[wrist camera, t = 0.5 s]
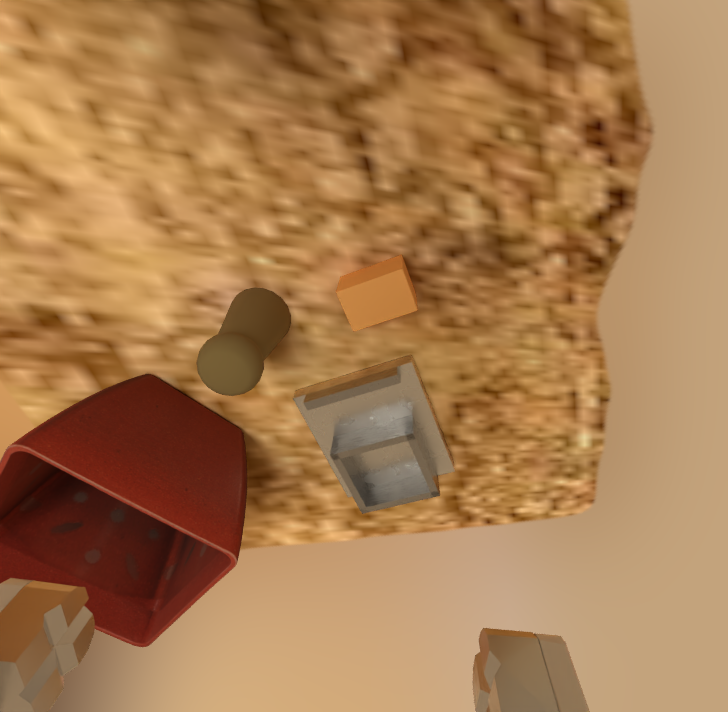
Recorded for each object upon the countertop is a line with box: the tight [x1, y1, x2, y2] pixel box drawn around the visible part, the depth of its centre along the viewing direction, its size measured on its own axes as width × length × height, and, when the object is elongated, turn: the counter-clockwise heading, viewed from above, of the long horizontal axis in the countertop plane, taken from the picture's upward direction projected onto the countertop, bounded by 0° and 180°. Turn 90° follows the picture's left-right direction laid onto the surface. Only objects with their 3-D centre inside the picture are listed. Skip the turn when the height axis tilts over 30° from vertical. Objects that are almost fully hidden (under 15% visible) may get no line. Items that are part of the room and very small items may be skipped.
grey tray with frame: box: [293, 355, 455, 514], centre depth 49 cm, size 15×13×4 cm
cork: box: [197, 288, 291, 396], centre depth 40 cm, size 6×6×11 cm
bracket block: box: [336, 255, 418, 332], centre depth 41 cm, size 4×6×4 cm, turn 112°
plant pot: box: [0, 374, 247, 647], centre depth 46 cm, size 19×19×17 cm
